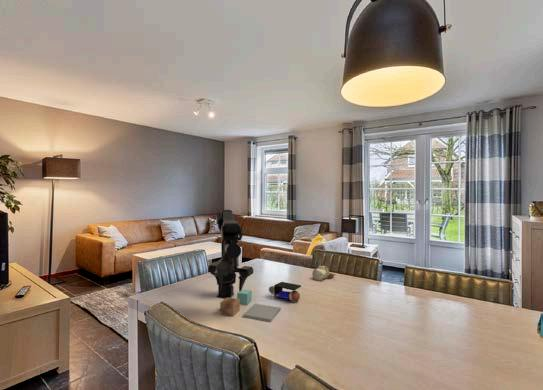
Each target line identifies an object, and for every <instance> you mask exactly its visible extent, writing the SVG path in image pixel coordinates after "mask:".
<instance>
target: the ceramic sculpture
mask: <svg viewBox="0 0 543 390" xmlns="http://www.w3.org/2000/svg"><path fill="white" fill-rule="evenodd" d="M335 275H336V273H332V272H330V270H329V268H328V267H327V266H325V265H323V264H320V265H318V266H317V268H315V269H313V270H312V277H313V279H314V280H316V281H318V282H321V281H323V280H325V279H327V278H333V277H335Z"/></svg>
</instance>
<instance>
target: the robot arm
mask: <svg viewBox="0 0 543 390" xmlns="http://www.w3.org/2000/svg"><path fill="white" fill-rule="evenodd" d="M215 219H216V225H217V229H218V231H219V233H220V241H221V242H220V244H221V245H220V246H221V247H220V250H221V251H220V252H221V254H220V255H221V259H220V260H221V261H220V262H213V263H211V264H209V265H208V267H207V272H208V273H210V275H213V277H215V280H216V285H217V287H218V289H217V295H216V298H220V299H221V298H222V299H226V298H232V296H234V295H235V293H234V290H235V289H234V285H235V283H237V282H236V281H237V280H236V279H237V273H238V274H239V275H238V279H239V281H238V283H239V285H238V292H240V291H241V290H242V289H243V288H244V285H245V283H246V280H247V278H249V277H250V276H252V275H253V274H254V268H253V267H252V266H248V265H244V266H242V267H239V265H240V264H239V263H238V258H239V257H240V256H241V253H242V248H241V246H240V245H239V241H242V238H243V231H242V227H241V225H240V224H239V222H238V221H237V220H235V214H234V213H233V210H231V209H222V210H221V211H220V212H219V213H218V214H217V215H216V217H215Z"/></svg>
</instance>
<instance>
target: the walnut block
mask: <svg viewBox="0 0 543 390" xmlns="http://www.w3.org/2000/svg"><path fill="white" fill-rule="evenodd" d="M219 303H220V305H219V314H220V315H222V316H228V317H235V315H237V314H238V313H239V312H240V311H241V309H240V307H241V304H240V299H237V298H233V297H230V298H223V300H222V301H220V302H219Z"/></svg>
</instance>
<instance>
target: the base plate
mask: <svg viewBox="0 0 543 390" xmlns="http://www.w3.org/2000/svg"><path fill="white" fill-rule="evenodd" d="M281 310H282V309H281V307H278V306H271V305H266V304H261V303H260V304H259V303H254V304H253V305H252V306H250V307H249V308H248V309H247V310H246V311H245V312H244V313H243V314H242V317H243V318H248V319H253V320H257V321H258V320H259V321H265V322H269V323H271V322H272V321H273V320H274V319H275V317H276V316H277V315H278V314H279V312H280V311H281Z"/></svg>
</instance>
